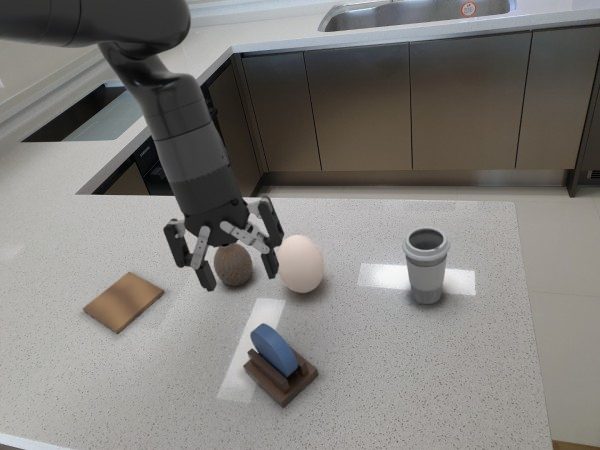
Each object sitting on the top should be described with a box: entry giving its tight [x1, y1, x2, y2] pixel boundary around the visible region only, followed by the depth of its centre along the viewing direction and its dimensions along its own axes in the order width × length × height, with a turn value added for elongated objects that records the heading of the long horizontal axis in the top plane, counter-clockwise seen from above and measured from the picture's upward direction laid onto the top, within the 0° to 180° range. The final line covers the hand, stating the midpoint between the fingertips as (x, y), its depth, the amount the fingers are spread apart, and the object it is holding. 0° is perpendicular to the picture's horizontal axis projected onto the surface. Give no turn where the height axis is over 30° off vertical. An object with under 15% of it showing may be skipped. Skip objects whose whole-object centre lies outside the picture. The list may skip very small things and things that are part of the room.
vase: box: [213, 242, 253, 287], centre depth 84 cm, size 7×7×9 cm
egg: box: [276, 234, 325, 294], centre depth 78 cm, size 8×8×11 cm
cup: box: [401, 225, 451, 305], centre depth 72 cm, size 7×7×12 cm
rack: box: [242, 345, 320, 409], centre depth 67 cm, size 7×9×4 cm
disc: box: [249, 322, 298, 378], centre depth 65 cm, size 2×8×8 cm, turn 42°
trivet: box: [82, 271, 165, 334], centre depth 86 cm, size 11×11×1 cm
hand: (242, 282), depth 60 cm, fingers open, 8 cm apart
